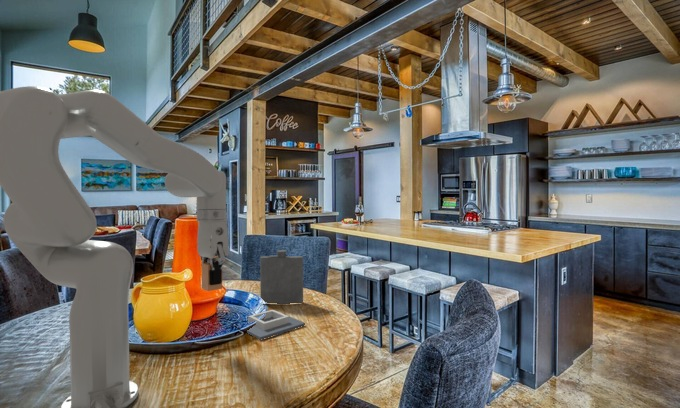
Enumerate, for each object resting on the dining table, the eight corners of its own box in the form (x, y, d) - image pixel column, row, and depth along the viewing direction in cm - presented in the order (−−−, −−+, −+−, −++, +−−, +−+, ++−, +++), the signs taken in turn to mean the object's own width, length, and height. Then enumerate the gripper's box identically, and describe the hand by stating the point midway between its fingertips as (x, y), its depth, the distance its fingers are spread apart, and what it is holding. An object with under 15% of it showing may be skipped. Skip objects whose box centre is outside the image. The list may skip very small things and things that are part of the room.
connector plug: (222, 288, 97) (222, 259, 97) (208, 291, 94) (208, 261, 94) (215, 285, 100) (215, 257, 100) (201, 288, 97) (201, 259, 97)
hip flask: (303, 301, 135) (303, 249, 135) (302, 305, 131) (302, 251, 131) (261, 302, 134) (261, 249, 134) (259, 305, 130) (259, 251, 130)
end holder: (305, 326, 110) (305, 316, 110) (260, 340, 99) (260, 330, 99) (275, 313, 121) (275, 304, 121) (232, 325, 110) (232, 316, 110)
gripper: (239, 216, 93) (239, 286, 94) (211, 214, 105) (211, 275, 106) (211, 217, 88) (211, 291, 88) (185, 215, 100) (185, 279, 100)
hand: (211, 282), depth 97 cm, fingers closed on connector plug, 4 cm apart
